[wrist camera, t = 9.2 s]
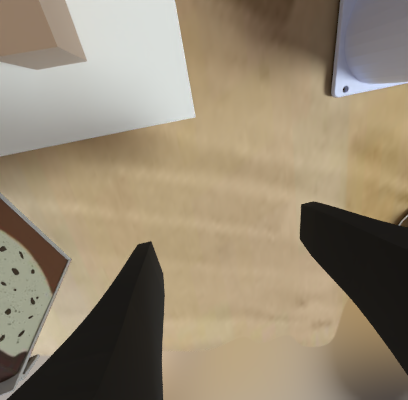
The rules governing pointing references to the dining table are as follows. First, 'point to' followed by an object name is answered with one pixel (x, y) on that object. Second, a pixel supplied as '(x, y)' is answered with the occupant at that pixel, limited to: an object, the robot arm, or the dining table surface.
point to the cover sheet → (88, 70)
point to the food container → (24, 290)
